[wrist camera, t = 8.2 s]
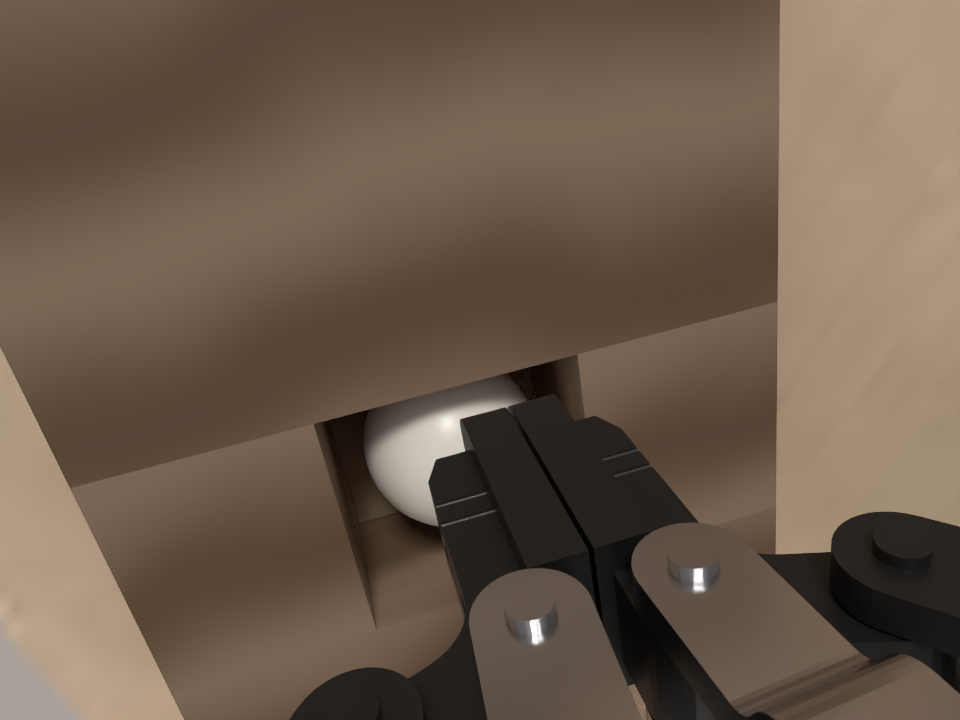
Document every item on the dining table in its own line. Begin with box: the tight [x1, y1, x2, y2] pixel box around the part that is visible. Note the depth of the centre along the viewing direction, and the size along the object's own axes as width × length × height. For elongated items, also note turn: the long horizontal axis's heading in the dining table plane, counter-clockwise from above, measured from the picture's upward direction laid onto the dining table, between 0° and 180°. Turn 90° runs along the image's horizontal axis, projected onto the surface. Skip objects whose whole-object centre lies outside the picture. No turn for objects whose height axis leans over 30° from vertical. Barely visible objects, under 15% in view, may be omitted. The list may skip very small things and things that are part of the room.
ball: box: [363, 373, 528, 526], centre depth 20 cm, size 4×4×4 cm
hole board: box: [0, 0, 780, 720], centre depth 17 cm, size 26×16×4 cm, turn 10°
